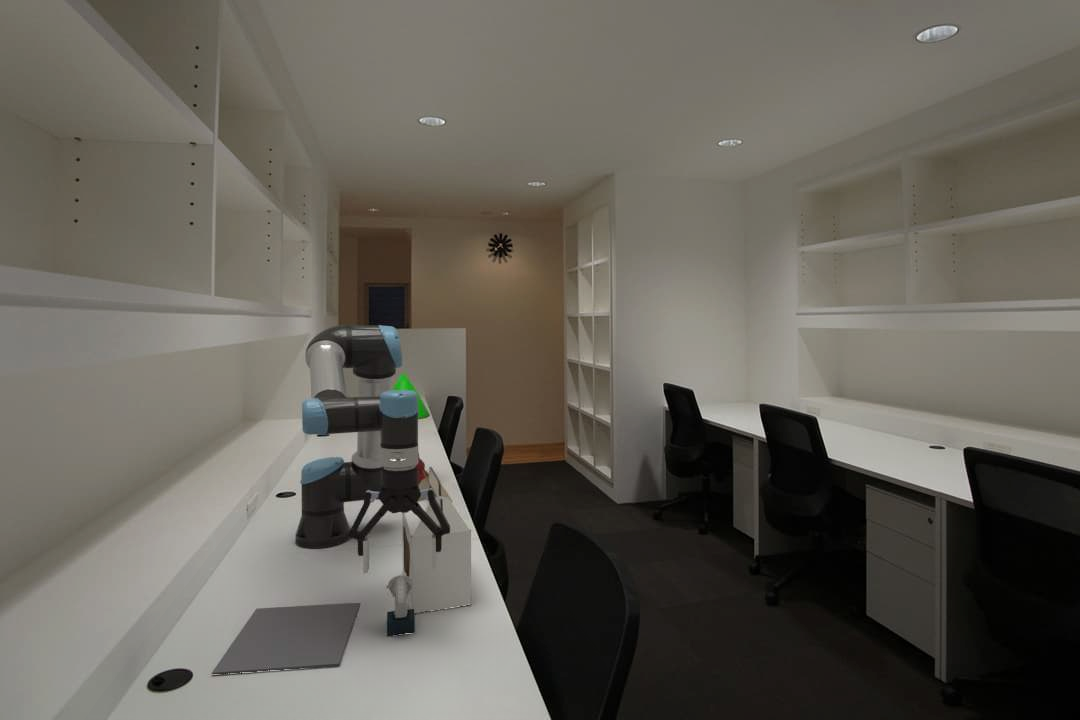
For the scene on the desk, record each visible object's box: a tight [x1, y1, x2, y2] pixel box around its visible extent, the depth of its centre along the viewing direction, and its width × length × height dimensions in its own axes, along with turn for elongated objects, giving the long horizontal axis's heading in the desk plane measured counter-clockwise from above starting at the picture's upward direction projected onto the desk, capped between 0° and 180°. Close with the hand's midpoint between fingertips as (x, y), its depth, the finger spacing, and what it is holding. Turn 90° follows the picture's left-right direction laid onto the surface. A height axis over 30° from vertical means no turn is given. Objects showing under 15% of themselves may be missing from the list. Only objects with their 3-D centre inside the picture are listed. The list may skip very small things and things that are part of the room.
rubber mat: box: [211, 602, 361, 675], centre depth 118 cm, size 24×22×1 cm
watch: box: [386, 574, 416, 637], centre depth 121 cm, size 6×8×11 cm
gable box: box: [401, 466, 472, 614], centre depth 139 cm, size 22×13×28 cm, turn 18°
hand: (400, 569), depth 120 cm, fingers open, 13 cm apart
